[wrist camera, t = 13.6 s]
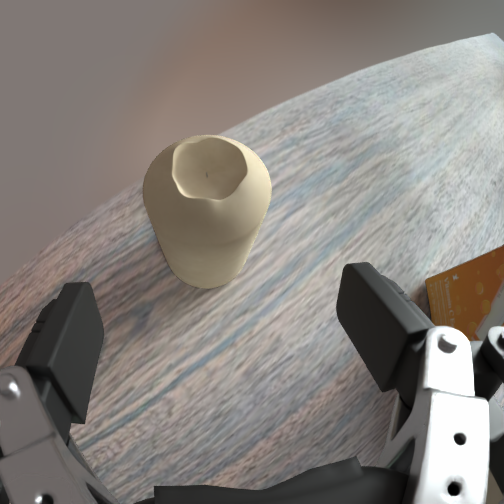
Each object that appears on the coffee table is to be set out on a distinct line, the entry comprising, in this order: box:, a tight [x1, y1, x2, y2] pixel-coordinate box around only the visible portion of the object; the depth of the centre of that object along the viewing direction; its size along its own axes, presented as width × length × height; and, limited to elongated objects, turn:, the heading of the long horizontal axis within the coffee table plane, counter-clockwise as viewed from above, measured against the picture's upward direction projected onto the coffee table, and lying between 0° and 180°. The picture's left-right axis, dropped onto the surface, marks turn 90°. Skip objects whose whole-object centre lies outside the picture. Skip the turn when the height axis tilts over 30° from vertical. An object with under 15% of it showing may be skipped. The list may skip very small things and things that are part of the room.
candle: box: [143, 135, 271, 289], centre depth 16 cm, size 6×6×10 cm
